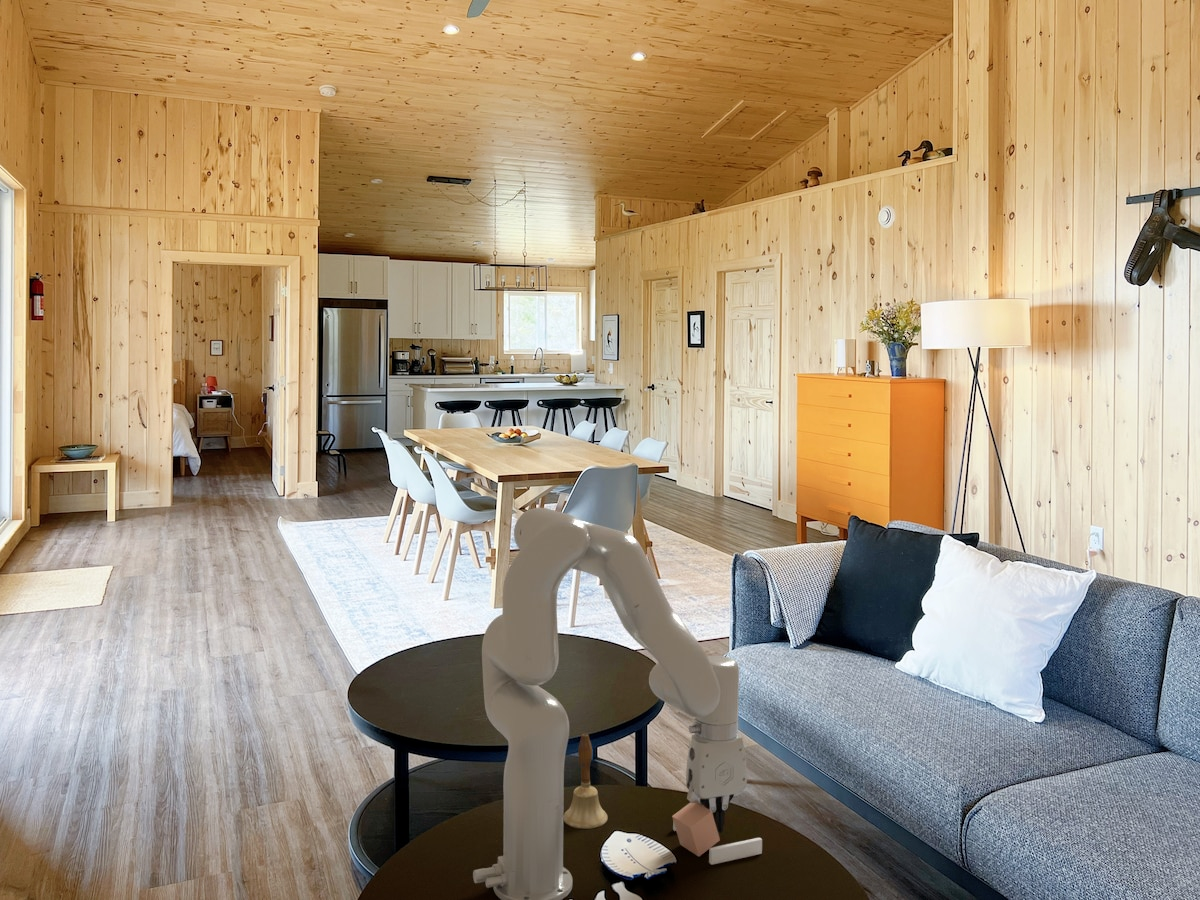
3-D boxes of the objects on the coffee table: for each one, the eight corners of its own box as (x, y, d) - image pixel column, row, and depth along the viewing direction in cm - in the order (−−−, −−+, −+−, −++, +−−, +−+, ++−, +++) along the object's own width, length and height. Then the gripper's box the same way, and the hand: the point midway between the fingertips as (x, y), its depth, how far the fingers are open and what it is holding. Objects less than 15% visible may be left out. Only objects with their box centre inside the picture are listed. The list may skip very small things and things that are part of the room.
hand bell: (595, 832, 165) (596, 745, 164) (555, 823, 169) (555, 737, 168) (614, 814, 172) (616, 730, 172) (575, 805, 176) (576, 723, 175)
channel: (711, 864, 154) (711, 850, 154) (673, 829, 166) (673, 816, 166) (761, 853, 158) (762, 839, 158) (720, 820, 170) (721, 806, 170)
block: (699, 856, 157) (690, 827, 155) (680, 844, 161) (671, 816, 159) (720, 840, 159) (711, 811, 158) (701, 828, 163) (693, 800, 162)
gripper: (689, 741, 154) (687, 847, 155) (764, 729, 160) (762, 831, 161) (668, 726, 161) (667, 828, 162) (741, 715, 167) (739, 814, 168)
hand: (714, 830), depth 162 cm, fingers closed
